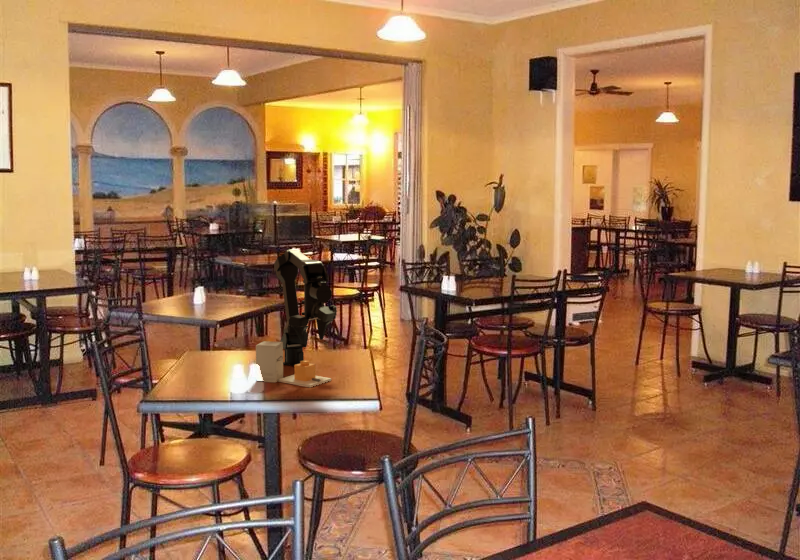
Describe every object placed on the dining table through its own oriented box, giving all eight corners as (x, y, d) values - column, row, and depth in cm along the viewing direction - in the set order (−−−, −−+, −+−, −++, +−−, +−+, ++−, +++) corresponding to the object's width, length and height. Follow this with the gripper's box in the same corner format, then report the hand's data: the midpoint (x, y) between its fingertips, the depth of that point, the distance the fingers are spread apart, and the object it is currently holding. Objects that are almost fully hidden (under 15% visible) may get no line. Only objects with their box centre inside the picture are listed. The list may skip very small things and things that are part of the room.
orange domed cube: (294, 379, 278) (294, 361, 277) (304, 376, 282) (304, 359, 281) (305, 381, 275) (305, 363, 274) (315, 378, 279) (315, 361, 279)
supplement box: (276, 382, 277) (275, 345, 275) (255, 381, 278) (254, 344, 277) (284, 377, 284) (283, 341, 282) (263, 376, 285) (263, 340, 284)
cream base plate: (278, 381, 278) (278, 368, 278) (300, 374, 287) (299, 362, 287) (310, 387, 270) (310, 373, 270) (331, 380, 279) (331, 367, 279)
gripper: (311, 304, 272) (311, 350, 274) (347, 296, 287) (347, 340, 289) (287, 300, 278) (287, 345, 281) (323, 293, 293) (323, 336, 296)
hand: (312, 342), depth 286 cm, fingers open, 9 cm apart
